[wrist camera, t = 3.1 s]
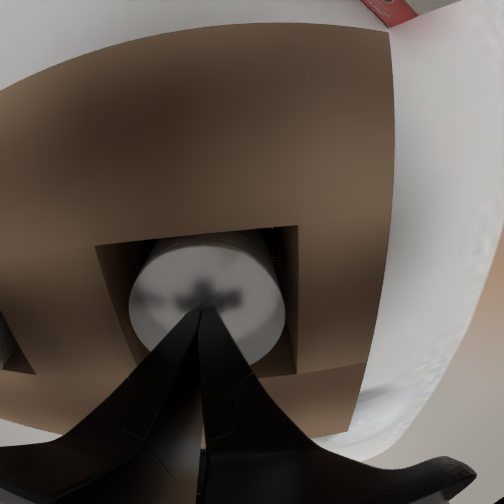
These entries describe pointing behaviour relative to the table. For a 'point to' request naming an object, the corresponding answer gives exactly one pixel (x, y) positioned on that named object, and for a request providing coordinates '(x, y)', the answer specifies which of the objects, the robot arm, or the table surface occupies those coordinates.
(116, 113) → the walnut block
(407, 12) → the ink cartridge box
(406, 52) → the table surface
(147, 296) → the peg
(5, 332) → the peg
